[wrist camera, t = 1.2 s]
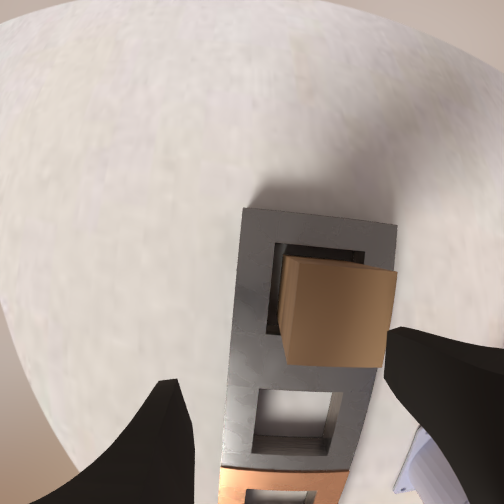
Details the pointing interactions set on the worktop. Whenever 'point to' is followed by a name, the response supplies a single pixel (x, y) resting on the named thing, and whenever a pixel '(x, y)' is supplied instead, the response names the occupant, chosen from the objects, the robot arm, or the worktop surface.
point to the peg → (334, 312)
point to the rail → (291, 376)
